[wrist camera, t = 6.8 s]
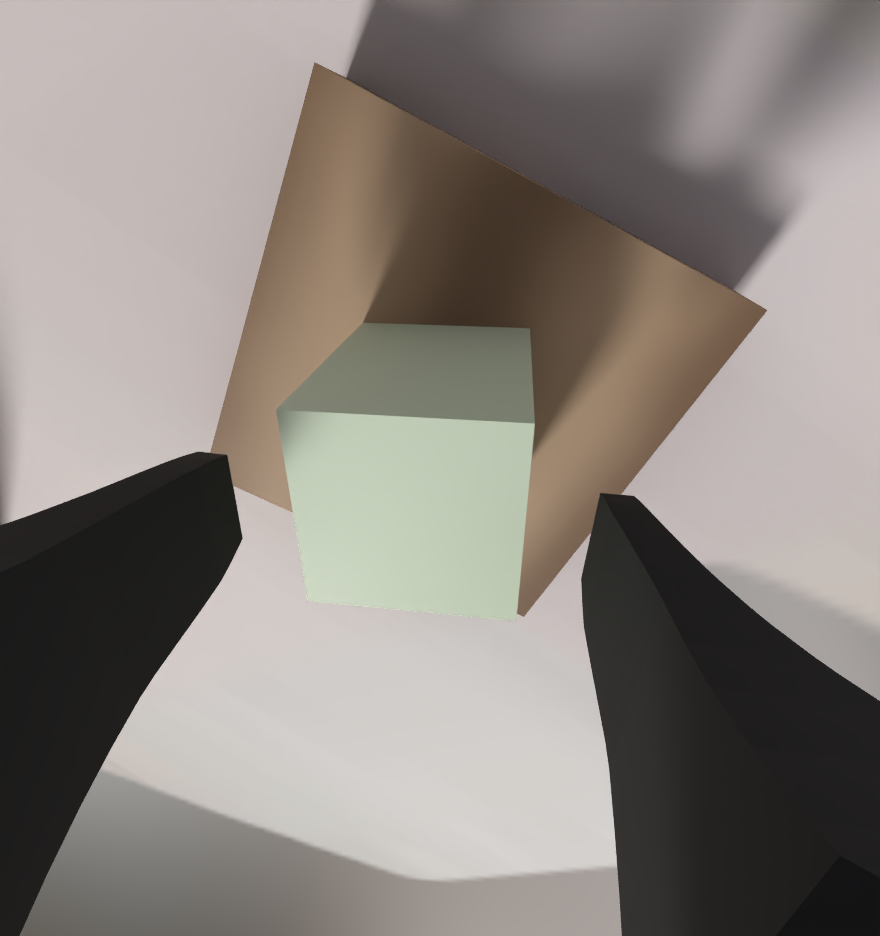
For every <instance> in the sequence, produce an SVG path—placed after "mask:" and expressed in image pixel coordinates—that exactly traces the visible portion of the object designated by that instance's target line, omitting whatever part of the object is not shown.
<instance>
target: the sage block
mask: <svg viewBox="0 0 880 936" xmlns="http://www.w3.org/2000/svg"><path fill="white" fill-rule="evenodd" d="M276 413H277V419H278V425H279V432H280V438H281V444H282V450H283V456H284V462H285V468H286V474H287V480H288V486H289V492H290V498H291V504H292V510H293V516H294V523H295V529H296V535H297V541H298V547H299V553H300V559H301V565H302V571H303V577H304V583H305V589H306V595H307V601H311V602H322V603H332V604H343V605H353V606H364V607H374V608H385V609H395V610H406V611H416V612H426V613H437V614H447V615H458V616H468V617H479V618H489V619H500V620H510V621H516V618H517V608H518V597H519V586H520V576H521V565H522V555H523V544H524V533H525V523H526V512H527V502H528V491H529V480H530V470H531V459H532V448H533V438H534V427H535V417H534V397H533V378H532V358H531V339H530V328H507V327H477V326H447V325H417V324H387V323H362V324H361V325H360V326H359V327H358V328H357V329H356V330H355V331H354V332H353V333H352V334H351V335H350V336H349V337H348V338H347V339H346V340H345V341H344V342H343V343H342V344H341V345H340V346H339V347H338V348H337V349H336V350H335V351H334V352H333V353H332V354H331V355H330V356H329V357H328V358H327V359H326V360H325V361H324V362H323V363H322V364H321V365H320V366H319V367H318V368H317V369H316V370H315V371H314V372H313V373H312V374H311V375H310V376H309V377H308V378H307V379H306V380H305V381H304V382H303V383H302V384H301V385H300V386H299V387H298V388H297V389H296V390H295V391H294V392H293V393H292V394H291V395H290V396H289V397H288V398H287V399H286V400H285V401H284V402H283V403H282V404H281V405H280V406H279V407H278V408H277V409H276Z"/></svg>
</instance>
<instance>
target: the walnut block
mask: <svg viewBox="0 0 880 936" xmlns="http://www.w3.org/2000/svg"><path fill="white" fill-rule="evenodd" d="M766 311H767V310H766V309H764V308H763V307H761V306H759V305H757V304H756V303H754V302H752V301H751V300H749V299H747V298H746V297H744V296H742V295H741V294H739V293H737V292H736V291H734V290H732V289H730V288H728V287H727V286H725V285H723V284H721V283H719V282H717V281H716V280H714V279H712V278H710V277H708V276H706V275H705V274H703V273H701V272H699V271H697V270H696V269H694V268H692V267H690V266H688V265H686V264H685V263H683V262H681V261H679V260H677V259H675V258H674V257H672V256H670V255H668V254H666V253H665V252H663V251H661V250H659V249H657V248H655V247H654V246H652V245H650V244H648V243H646V242H644V241H643V240H641V239H639V238H637V237H635V236H633V235H632V234H630V233H628V232H626V231H624V230H623V229H621V228H619V227H617V226H615V225H613V224H612V223H610V222H608V221H606V220H604V219H602V218H601V217H599V216H597V215H595V214H593V213H592V212H590V211H588V210H586V209H584V208H582V207H581V206H579V205H577V204H575V203H573V202H571V201H570V200H568V199H566V198H564V197H562V196H561V195H559V194H557V193H555V192H553V191H551V190H550V189H548V188H546V187H544V186H542V185H540V184H539V183H537V182H535V181H533V180H531V179H529V178H528V177H526V176H524V175H522V174H520V173H519V172H517V171H515V170H513V169H511V168H509V167H508V166H506V165H504V164H502V163H500V162H498V161H497V160H495V159H493V158H491V157H489V156H488V155H486V154H484V153H482V152H480V151H478V150H477V149H475V148H473V147H471V146H469V145H467V144H466V143H464V142H462V141H460V140H458V139H456V138H455V137H453V136H451V135H449V134H447V133H446V132H444V131H442V130H440V129H438V128H436V127H435V126H433V125H431V124H429V123H427V122H425V121H424V120H422V119H420V118H418V117H416V116H415V115H413V114H411V113H409V112H407V111H405V110H404V109H402V108H400V107H398V106H396V105H394V104H393V103H391V102H389V101H387V100H385V99H383V98H382V97H380V96H378V95H376V94H374V93H373V92H371V91H369V90H367V89H365V88H363V87H362V86H360V85H358V84H356V83H354V82H352V81H351V80H349V79H347V78H345V77H343V76H341V75H339V74H337V73H335V72H333V71H331V70H329V69H327V68H325V67H323V66H321V65H319V64H317V63H314V67H313V70H312V74H311V78H310V82H309V85H308V89H307V93H306V96H305V100H304V104H303V108H302V111H301V115H300V119H299V123H298V126H297V130H296V134H295V138H294V141H293V145H292V149H291V153H290V156H289V160H288V164H287V168H286V171H285V175H284V179H283V183H282V186H281V190H280V194H279V198H278V201H277V205H276V209H275V213H274V216H273V220H272V224H271V228H270V231H269V235H268V239H267V242H266V246H265V250H264V254H263V257H262V261H261V265H260V269H259V272H258V276H257V280H256V284H255V287H254V291H253V295H252V299H251V302H250V306H249V310H248V314H247V317H246V321H245V325H244V329H243V332H242V336H241V340H240V344H239V347H238V351H237V355H236V359H235V362H234V366H233V370H232V374H231V377H230V381H229V385H228V388H227V392H226V396H225V400H224V403H223V407H222V411H221V415H220V418H219V422H218V426H217V430H216V433H215V437H214V441H213V445H212V448H211V452H210V453H215V454H225V455H227V456H228V461H229V467H230V472H231V478H232V483H233V486H235V487H237V488H240V489H242V490H244V491H246V492H249V493H251V494H253V495H255V496H257V497H260V498H262V499H264V500H266V501H268V502H271V503H273V504H275V505H277V506H280V507H282V508H284V509H286V510H288V511H291V512H293V510H292V504H291V498H290V492H289V486H288V480H287V474H286V468H285V462H284V456H283V450H282V444H281V438H280V432H279V425H278V419H277V413H276V409H277V408H278V407H279V406H280V405H281V404H282V403H283V402H284V401H285V400H286V399H287V398H288V397H289V396H290V395H291V394H292V393H293V392H294V391H295V390H296V389H297V388H298V387H299V386H300V385H301V384H302V383H303V382H304V381H305V380H306V379H307V378H308V377H309V376H310V375H311V374H312V373H313V372H314V371H315V370H316V369H317V368H318V367H319V366H320V365H321V364H322V363H323V362H324V361H325V360H326V359H327V358H328V357H329V356H330V355H331V354H332V353H333V352H334V351H335V350H336V349H337V348H338V347H339V346H340V345H341V344H342V343H343V342H344V341H345V340H346V339H347V338H348V337H349V336H350V335H351V334H352V333H353V332H354V331H355V330H356V329H357V328H358V327H359V326H360V325H361V324H362V323H387V324H417V325H447V326H477V327H507V328H530V339H531V358H532V378H533V397H534V417H535V427H534V438H533V448H532V459H531V470H530V480H529V491H528V502H527V512H526V523H525V533H524V544H523V555H522V565H521V576H520V586H519V597H518V608H517V614H519V615H521V616H523V617H524V616H525V615H526V613H527V612H528V611H529V610H530V608H531V607H532V606H533V604H534V603H535V602H536V601H537V599H538V598H539V597H540V596H541V594H542V593H543V592H544V591H545V589H546V588H547V587H548V586H549V584H550V583H551V582H552V581H553V579H554V578H555V577H556V576H557V574H558V573H559V572H560V570H561V569H562V568H563V567H564V565H565V564H566V563H567V562H568V560H569V559H570V558H571V557H572V555H573V554H574V553H575V552H576V550H577V549H578V548H579V547H580V545H581V544H582V543H583V542H584V540H585V539H586V538H587V536H588V535H589V534H590V533H591V531H592V528H593V523H594V519H595V514H596V510H597V505H598V500H599V496H600V493H608V494H617V495H621V494H622V492H623V491H624V490H625V489H626V487H627V486H628V485H629V484H630V482H631V481H632V480H633V479H634V477H635V476H636V475H637V474H638V472H639V471H640V470H641V469H642V467H643V466H644V465H645V463H646V462H647V461H648V460H649V458H650V457H651V456H652V455H653V453H654V452H655V451H656V450H657V448H658V447H659V446H660V445H661V443H662V442H663V441H664V440H665V438H666V437H667V436H668V435H669V433H670V432H671V431H672V429H673V428H674V427H675V426H676V424H677V423H678V422H679V421H680V419H681V418H682V417H683V416H684V414H685V413H686V412H687V411H688V409H689V408H690V407H691V406H692V404H693V403H694V402H695V401H696V399H697V398H698V397H699V395H700V394H701V393H702V392H703V390H704V389H705V388H706V387H707V385H708V384H709V383H710V382H711V380H712V379H713V378H714V377H715V375H716V374H717V373H718V372H719V370H720V369H721V368H722V367H723V365H724V364H725V363H726V362H727V360H728V359H729V358H730V356H731V355H732V354H733V353H734V351H735V350H736V349H737V348H738V346H739V345H740V344H741V343H742V341H743V340H744V339H745V338H746V336H747V335H748V334H749V333H750V331H751V330H752V329H753V328H754V326H755V325H756V324H757V322H758V321H759V320H760V319H761V317H762V316H763V315H764V314H765V312H766Z"/></svg>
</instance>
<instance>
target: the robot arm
mask: <svg viewBox="0 0 880 936" xmlns="http://www.w3.org/2000/svg"><path fill="white" fill-rule="evenodd" d="M241 541H242V533H241V528H240V522H239V516H238V511H237V505H236V500H235V494H234V489H233V483H232V478H231V472H230V467H229V461H228V456H227V455H225V454H215V453H205V452H196V453H192V454H188V455H185V456H182V457H179V458H176V459H174V460H171V461H168V462H165V463H163V464H160V465H158V466H155V467H153V468H150V469H148V470H145V471H143V472H140V473H138V474H135V475H133V476H130V477H128V478H125V479H123V480H120V481H118V482H116V483H113V484H111V485H108V486H106V487H103V488H101V489H98V490H96V491H93V492H91V493H88V494H86V495H83V496H80V497H78V498H75V499H72V500H70V501H67V502H64V503H62V504H59V505H56V506H54V507H51V508H48V509H46V510H43V511H40V512H38V513H35V514H32V515H30V516H27V517H24V518H21V519H18V520H15V521H13V522H10V523H7V524H3V525H0V936H19V935H20V933H21V931H22V929H23V927H24V924H25V922H26V920H27V917H28V915H29V913H30V911H31V909H32V906H33V904H34V902H35V900H36V898H37V895H38V893H39V891H40V889H41V886H42V884H43V882H44V879H45V878H46V875H47V873H48V871H49V869H50V867H51V865H52V863H53V861H54V859H55V857H56V855H57V853H58V851H59V849H60V847H61V845H62V843H63V840H64V838H65V836H66V834H67V832H68V830H69V828H70V826H71V824H72V822H73V820H74V818H75V816H76V814H77V812H78V810H79V808H80V806H81V804H82V802H83V800H84V798H85V796H86V794H87V793H88V791H89V789H90V787H91V785H92V783H93V781H94V779H95V777H96V776H97V773H98V772H99V770H100V768H101V766H102V764H103V762H104V761H105V759H106V757H107V755H108V753H109V751H110V749H111V747H112V746H113V744H114V742H115V740H116V739H117V737H118V735H119V733H120V732H121V730H122V728H123V726H124V725H125V723H126V721H127V719H128V718H129V716H130V714H131V712H132V711H133V709H134V707H135V705H136V704H137V702H138V700H139V698H140V697H141V695H142V694H143V692H144V691H145V689H146V688H147V686H148V684H149V683H150V681H151V680H152V678H153V677H154V675H155V674H156V672H157V671H158V670H159V668H160V667H161V665H162V664H163V663H164V661H165V660H166V658H167V657H168V656H169V654H170V653H171V651H172V650H173V649H174V647H175V646H176V644H177V643H178V642H179V640H180V639H181V637H182V636H183V635H184V633H185V632H186V630H187V629H188V628H189V626H190V625H191V623H192V622H193V621H194V619H195V618H196V616H197V615H198V614H199V612H200V611H201V609H202V608H203V606H204V605H205V603H206V602H207V601H208V599H209V598H210V596H211V595H212V593H213V592H214V591H215V589H216V588H217V586H218V585H219V583H220V582H221V580H222V578H223V576H224V575H225V573H226V571H227V569H228V567H229V565H230V563H231V561H232V559H233V557H234V555H235V553H236V551H237V549H238V547H239V545H240V543H241ZM581 582H582V604H583V620H584V630H585V635H586V641H587V646H588V652H589V657H590V663H591V668H592V673H593V679H594V684H595V689H596V694H597V700H598V705H599V710H600V716H601V721H602V726H603V731H604V737H605V742H606V749H607V756H608V763H609V771H610V782H611V794H612V805H613V816H614V828H615V841H616V854H617V868H618V881H619V895H620V909H621V910H620V911H621V928H622V936H880V701H879V700H877V699H876V698H874V697H873V696H871V695H870V694H868V693H867V692H865V691H864V690H862V689H861V688H859V687H858V686H856V685H854V684H853V683H851V682H850V681H848V680H847V679H845V678H844V677H842V676H841V675H839V674H838V673H836V672H835V671H833V670H832V669H831V668H829V667H828V666H826V665H825V664H824V663H822V662H821V661H819V660H818V659H816V658H815V657H814V656H812V655H811V654H809V653H808V652H807V651H805V650H804V649H803V648H801V647H800V646H799V645H797V644H796V643H795V642H793V641H792V640H791V639H790V638H788V637H787V636H786V635H784V634H783V633H781V632H780V631H779V630H778V629H776V628H775V627H774V626H772V625H771V624H770V623H769V622H767V621H766V620H765V619H764V618H762V617H761V616H760V615H759V614H757V613H756V612H755V611H754V610H753V609H751V608H750V607H749V606H748V605H747V604H746V603H744V602H743V601H742V600H741V599H740V598H739V597H738V596H736V595H735V594H734V593H733V592H732V591H731V590H730V589H728V588H727V587H726V586H725V585H724V584H723V583H722V582H720V581H719V580H718V579H717V578H716V577H715V576H714V575H713V574H712V573H711V572H710V571H709V570H708V569H706V568H705V567H704V566H703V565H702V564H701V563H700V562H699V561H698V560H697V559H696V558H695V557H694V556H693V555H692V554H691V553H690V552H689V551H688V550H687V549H686V548H685V547H684V546H683V545H682V544H681V543H680V542H679V541H678V540H677V539H676V538H675V537H674V536H673V535H672V534H671V533H670V532H669V531H668V530H667V529H666V528H665V527H664V526H663V525H662V524H661V523H660V521H659V520H658V519H657V518H656V517H655V516H654V515H653V514H652V513H651V512H650V511H649V510H648V509H647V508H646V507H645V506H644V505H643V504H642V503H641V502H640V501H639V500H638V499H637V498H636V497H635V496H627V495H617V494H608V493H600V496H599V500H598V505H597V510H596V514H595V519H594V523H593V528H592V532H591V537H590V541H589V546H588V551H587V555H586V560H585V564H584V569H583V573H582V578H581Z"/></svg>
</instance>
